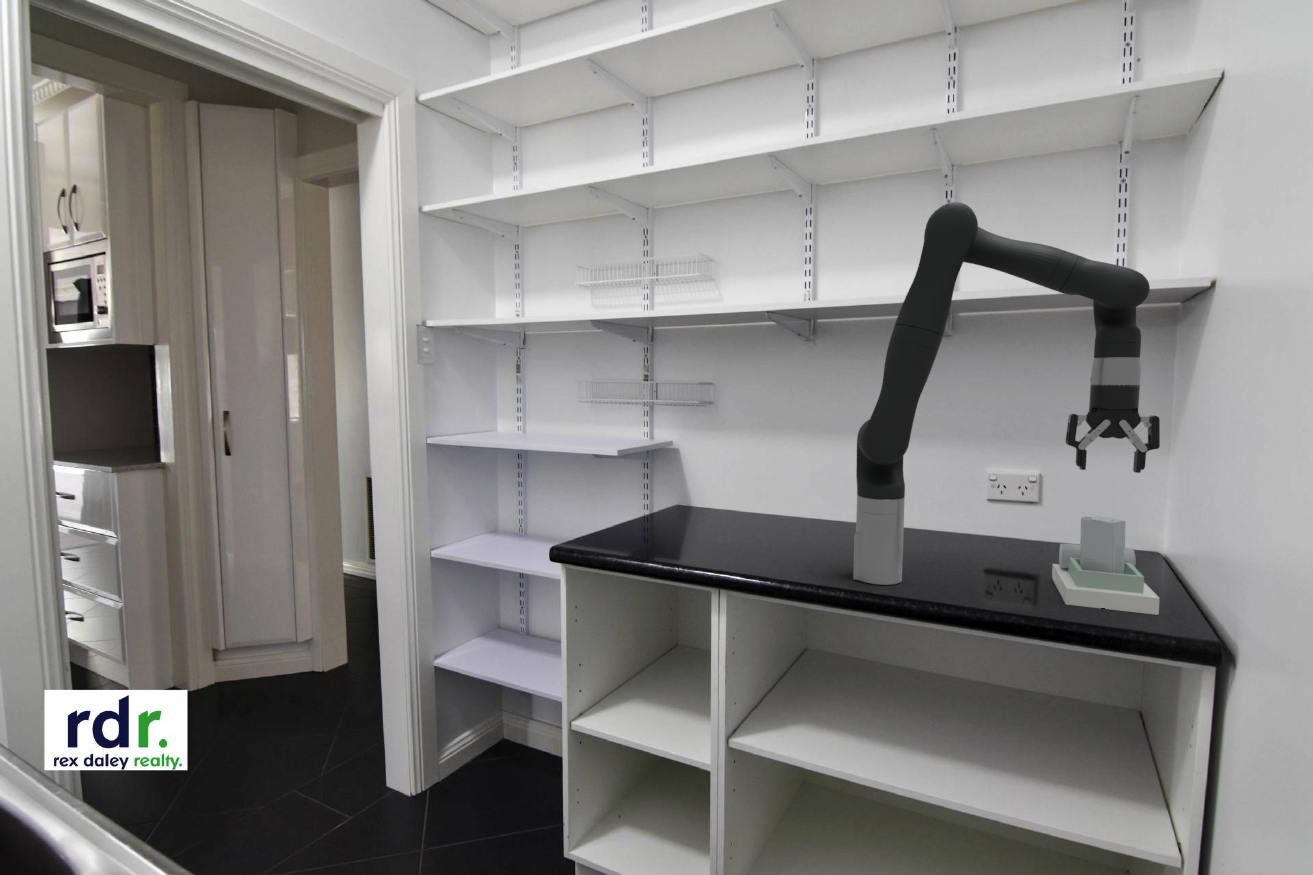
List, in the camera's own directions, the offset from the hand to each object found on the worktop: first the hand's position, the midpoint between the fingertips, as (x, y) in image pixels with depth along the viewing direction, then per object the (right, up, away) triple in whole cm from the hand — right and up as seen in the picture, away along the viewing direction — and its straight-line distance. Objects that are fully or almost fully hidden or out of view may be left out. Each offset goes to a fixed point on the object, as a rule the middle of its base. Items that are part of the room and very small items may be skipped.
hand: (1109, 470), depth 126 cm
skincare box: (0, -21, +2) cm, 21 cm away
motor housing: (+1, -24, +4) cm, 24 cm away
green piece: (0, -21, +2) cm, 21 cm away
